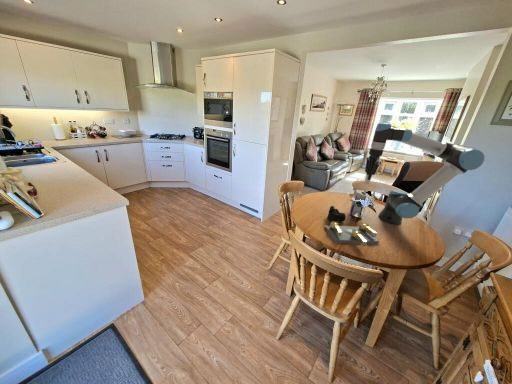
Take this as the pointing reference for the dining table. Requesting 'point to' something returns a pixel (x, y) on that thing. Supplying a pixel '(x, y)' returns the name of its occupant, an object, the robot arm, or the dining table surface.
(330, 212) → the camera
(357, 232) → the knob left
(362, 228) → the knob
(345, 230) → the level plate
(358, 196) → the milk carton
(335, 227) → the knob
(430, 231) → the dining table surface
